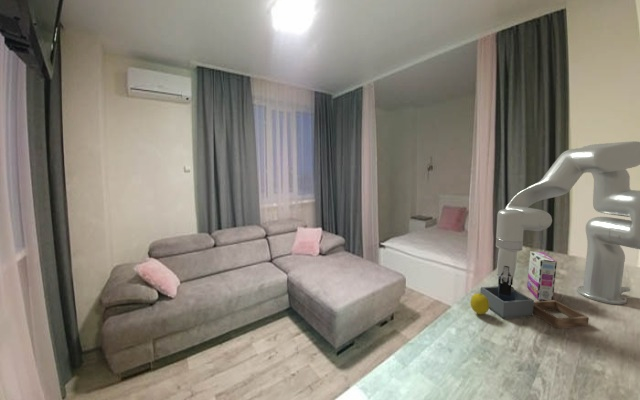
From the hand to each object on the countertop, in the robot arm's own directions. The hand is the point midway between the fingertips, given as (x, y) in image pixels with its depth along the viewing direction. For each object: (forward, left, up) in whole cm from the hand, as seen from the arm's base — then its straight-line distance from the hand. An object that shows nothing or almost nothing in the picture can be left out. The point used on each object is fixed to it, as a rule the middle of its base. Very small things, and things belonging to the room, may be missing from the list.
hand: (506, 288), depth 89 cm
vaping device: (0, 0, -7) cm, 7 cm away
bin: (0, 0, -8) cm, 8 cm away
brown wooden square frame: (-12, +7, -8) cm, 16 cm away
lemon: (+12, +2, -8) cm, 14 cm away
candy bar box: (-21, -7, -8) cm, 24 cm away
